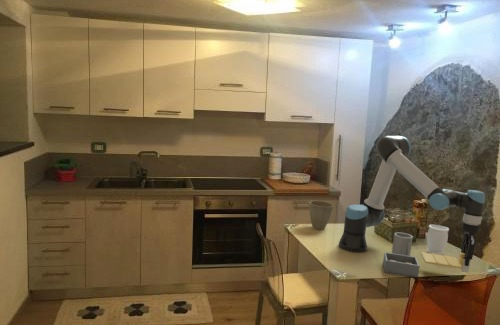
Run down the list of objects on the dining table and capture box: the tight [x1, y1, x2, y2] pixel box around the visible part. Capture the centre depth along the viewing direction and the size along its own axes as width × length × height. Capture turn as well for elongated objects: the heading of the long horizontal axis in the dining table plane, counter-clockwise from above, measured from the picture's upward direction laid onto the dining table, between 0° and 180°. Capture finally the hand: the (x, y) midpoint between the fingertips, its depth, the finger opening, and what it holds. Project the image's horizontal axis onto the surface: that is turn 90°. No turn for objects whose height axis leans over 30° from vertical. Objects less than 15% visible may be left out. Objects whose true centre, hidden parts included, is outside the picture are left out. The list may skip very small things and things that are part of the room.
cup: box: [391, 232, 414, 256], centre depth 221 cm, size 9×9×12 cm
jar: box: [426, 224, 450, 255], centre depth 232 cm, size 11×10×15 cm
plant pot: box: [308, 200, 334, 231], centre depth 261 cm, size 15×15×16 cm
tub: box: [382, 252, 421, 279], centre depth 202 cm, size 15×12×6 cm
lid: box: [420, 251, 471, 270], centre depth 201 cm, size 21×13×5 cm, turn 76°
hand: (464, 270), depth 200 cm, fingers closed on lid, 3 cm apart
